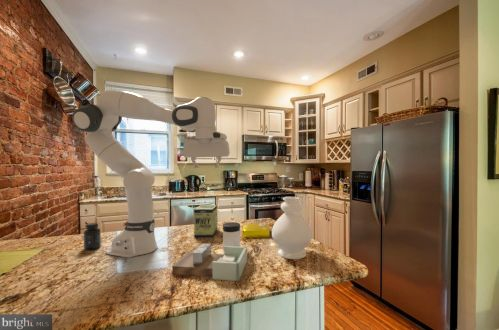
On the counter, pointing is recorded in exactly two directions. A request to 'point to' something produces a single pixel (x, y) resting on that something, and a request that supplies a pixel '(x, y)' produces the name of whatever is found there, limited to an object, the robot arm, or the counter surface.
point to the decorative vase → (291, 230)
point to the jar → (231, 234)
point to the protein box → (205, 221)
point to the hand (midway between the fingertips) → (206, 167)
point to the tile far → (229, 258)
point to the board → (195, 266)
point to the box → (230, 264)
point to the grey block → (201, 254)
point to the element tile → (256, 230)
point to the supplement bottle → (92, 237)
